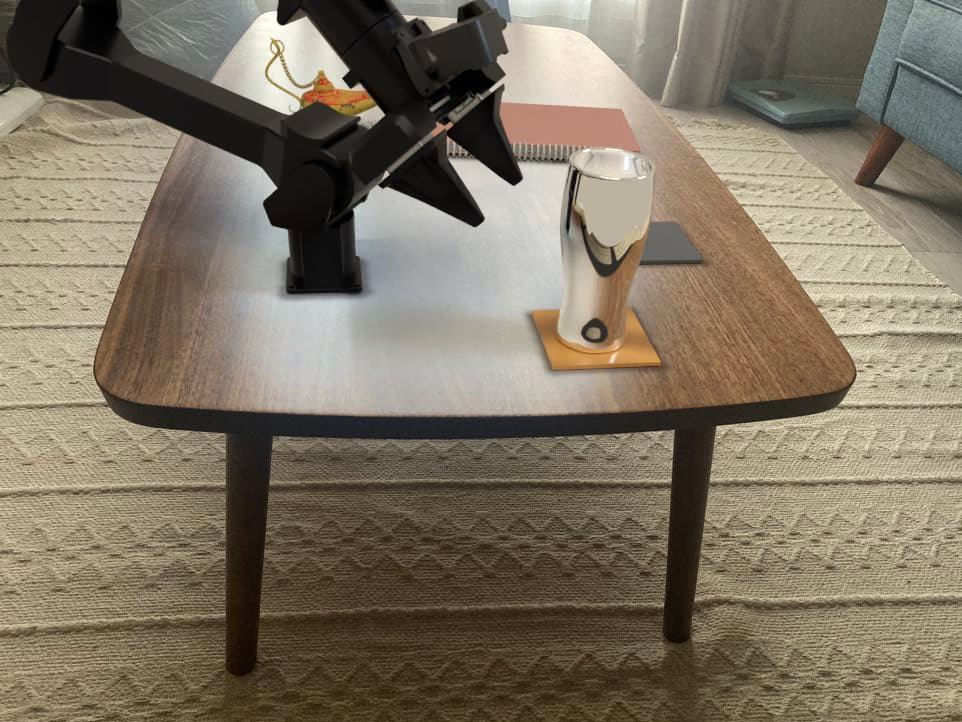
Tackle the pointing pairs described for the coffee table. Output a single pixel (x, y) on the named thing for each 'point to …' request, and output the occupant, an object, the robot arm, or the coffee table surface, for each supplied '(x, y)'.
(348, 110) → the magic lamp
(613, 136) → the notebook
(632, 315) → the honey coaster
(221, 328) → the coffee table surface
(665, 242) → the slate coaster
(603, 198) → the beer glass
